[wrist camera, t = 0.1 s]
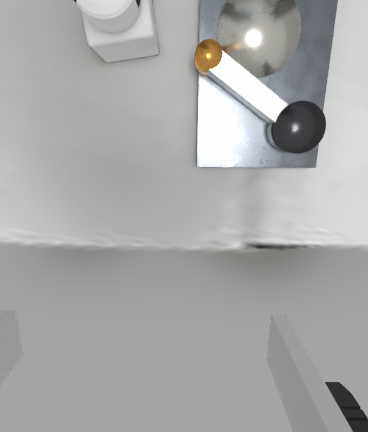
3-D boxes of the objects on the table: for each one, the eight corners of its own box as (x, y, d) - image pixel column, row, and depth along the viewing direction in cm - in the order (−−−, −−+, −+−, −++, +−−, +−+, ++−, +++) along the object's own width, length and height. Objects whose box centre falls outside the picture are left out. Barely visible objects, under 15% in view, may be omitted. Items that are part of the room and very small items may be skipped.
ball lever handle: (323, 122, 36) (336, 121, 33) (292, 161, 37) (302, 163, 34) (211, 30, 33) (214, 19, 30) (182, 75, 35) (182, 69, 31)
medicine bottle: (93, 0, 34) (47, -70, 23) (150, -10, 34) (132, -86, 22) (105, 63, 36) (68, 29, 25) (160, 55, 36) (148, 16, 24)
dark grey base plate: (200, -60, 33) (201, -74, 30) (337, -59, 33) (348, -73, 30) (196, 165, 40) (197, 167, 37) (309, 166, 40) (316, 167, 37)
